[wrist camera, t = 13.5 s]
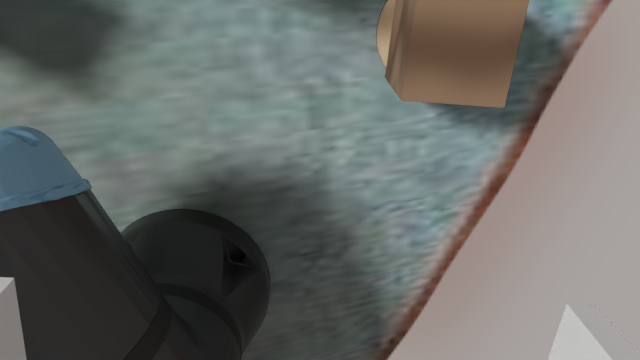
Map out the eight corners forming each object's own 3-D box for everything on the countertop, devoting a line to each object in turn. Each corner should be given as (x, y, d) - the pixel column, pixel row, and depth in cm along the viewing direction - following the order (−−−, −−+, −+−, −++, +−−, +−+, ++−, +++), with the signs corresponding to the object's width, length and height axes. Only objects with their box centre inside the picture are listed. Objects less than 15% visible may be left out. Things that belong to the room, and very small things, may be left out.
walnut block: (472, 83, 41) (504, 108, 35) (384, 77, 41) (401, 100, 34) (491, -10, 38) (529, -2, 32) (397, -18, 38) (418, -13, 32)
